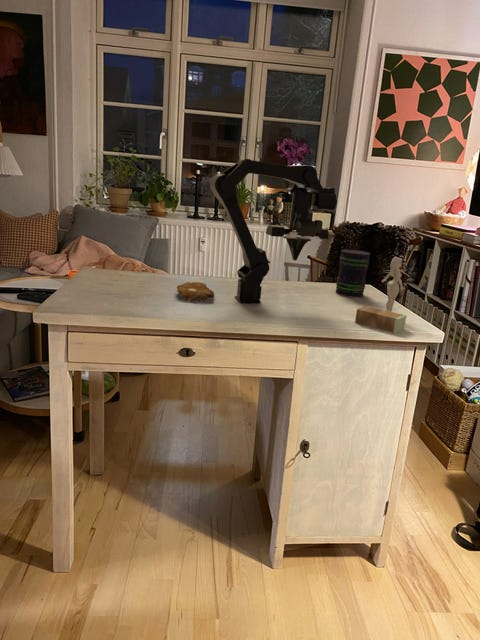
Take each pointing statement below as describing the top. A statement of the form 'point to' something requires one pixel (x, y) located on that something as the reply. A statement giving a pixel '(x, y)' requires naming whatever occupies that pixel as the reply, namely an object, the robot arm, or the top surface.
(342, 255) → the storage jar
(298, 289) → the top surface
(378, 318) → the walnut block
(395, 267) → the human figurine
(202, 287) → the decorative rock
